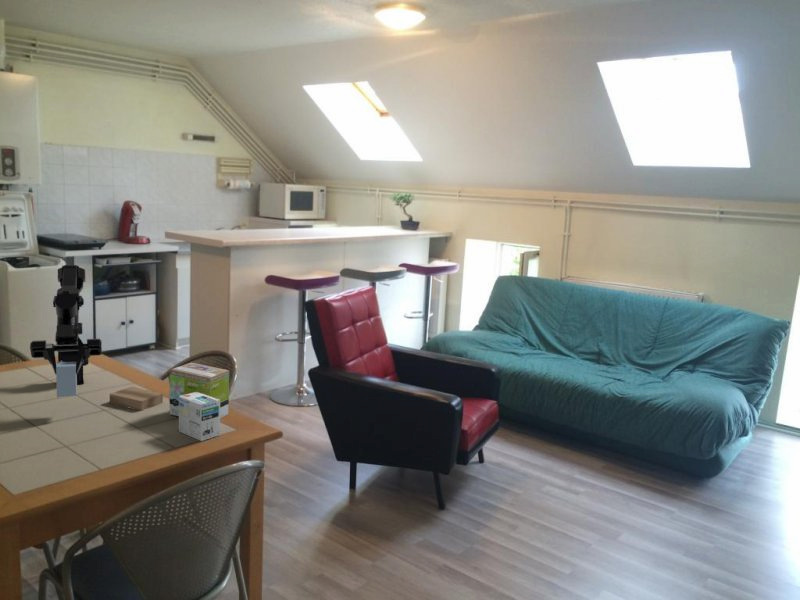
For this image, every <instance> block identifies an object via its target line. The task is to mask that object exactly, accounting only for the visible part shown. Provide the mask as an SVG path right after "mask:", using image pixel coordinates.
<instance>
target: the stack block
mask: <svg viewBox="0 0 800 600" xmlns="http://www.w3.org/2000/svg"><path fill="white" fill-rule="evenodd" d="M163 396H164V394H163V393H161V392H157V391H153V390H147V389H143V388H138V387H135V386H129V387H127V388H124V389H120V390H116V391H115V392H112V393H109V404H110V403H111V404H112V405H115V406H119V405H120V407H123V406H125V407H124V408H127V407H130V408H129V409H131V408H134V409H133V410H136V409H137V410H136V411H140V410H141V412H143V411H145V409H146V410H148V409H151V408H153V407H155V406H158V405H161V404H163V403H164V401H163V400H164V399H163V398H164V397H163Z"/></svg>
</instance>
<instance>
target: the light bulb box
mask: <svg viewBox="0 0 800 600" xmlns="http://www.w3.org/2000/svg"><path fill="white" fill-rule="evenodd" d="M178 432H179V433H181V434H184V435H186V436H189V437H191V438H193V439H196V440H198V441H200V442H203V441H206V440H209V439H212V438H215V437H216V438H217V437H219V436H221V418H220V399H217V398H213V397H210V396H207V395H205V394H202V393H199V392H194V393H190V394H186V395H181V396H179V416H178Z"/></svg>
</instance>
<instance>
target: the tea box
mask: <svg viewBox="0 0 800 600" xmlns="http://www.w3.org/2000/svg"><path fill="white" fill-rule="evenodd" d="M194 392H199V393H202V394H205V395H207V396H210V397H213V398H217V399H220V419H222V418H224V417H226V416H228V415H229V403H230V402H229V399H230V397H229V396H230V369H229V370H228V369H223V368H220V367H215V366H209V365H206V364H205V365H204V364H200V363H195V362H191V361H190V362H189V363H185V364H183V365H181V366H180V365H179V366H177V367H174V368H171V369H169V402H168V403H169V415H171V416H175V417H179V396H181V395H186V394H190V393H194Z"/></svg>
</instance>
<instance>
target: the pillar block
mask: <svg viewBox="0 0 800 600" xmlns="http://www.w3.org/2000/svg"><path fill="white" fill-rule="evenodd" d="M55 380H56V397H57V398H62V397H63V398H65V397H76V396H77V391H78V384H77V373H76V361H74V362H62V361H61V362H56V379H55Z"/></svg>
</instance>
